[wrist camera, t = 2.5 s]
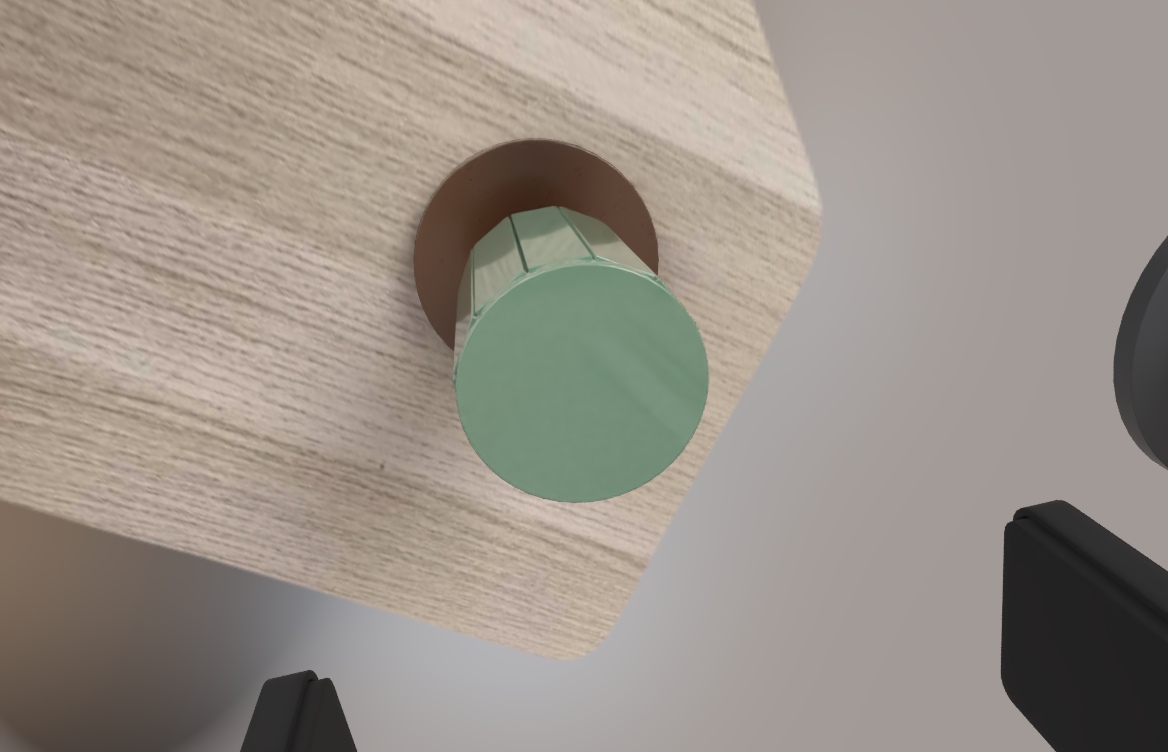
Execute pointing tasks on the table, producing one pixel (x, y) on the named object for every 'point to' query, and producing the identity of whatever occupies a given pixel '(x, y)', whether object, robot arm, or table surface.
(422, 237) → the towel stand
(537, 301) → the green cup
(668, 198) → the table surface
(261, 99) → the table surface
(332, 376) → the table surface
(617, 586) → the table surface
